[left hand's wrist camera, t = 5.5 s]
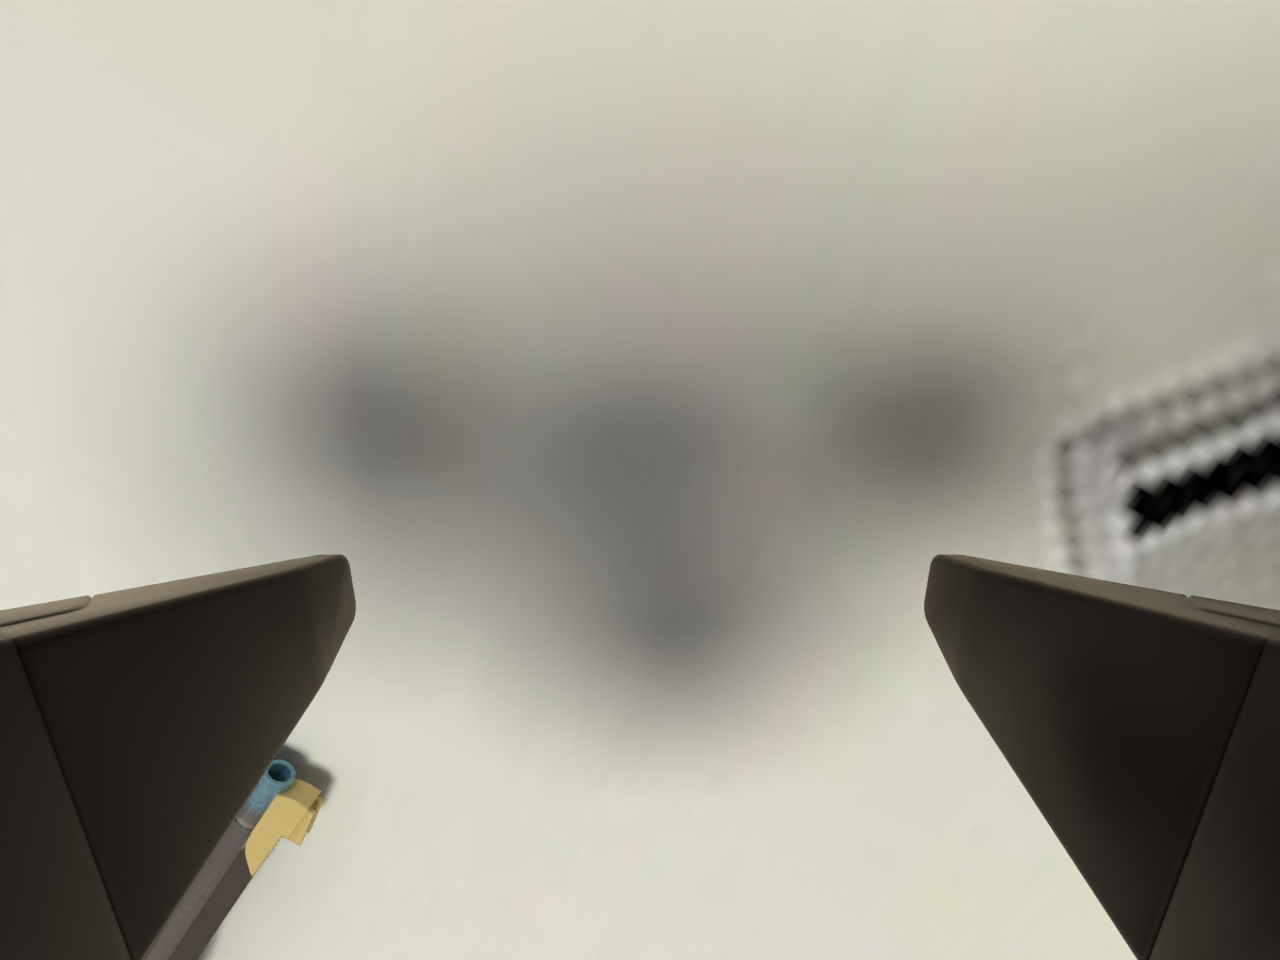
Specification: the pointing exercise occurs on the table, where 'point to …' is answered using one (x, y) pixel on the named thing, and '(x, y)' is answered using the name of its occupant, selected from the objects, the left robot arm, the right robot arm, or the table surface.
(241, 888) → the toy gun
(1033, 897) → the table surface
